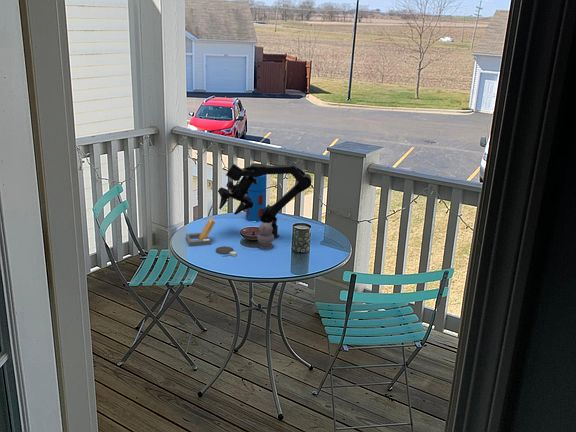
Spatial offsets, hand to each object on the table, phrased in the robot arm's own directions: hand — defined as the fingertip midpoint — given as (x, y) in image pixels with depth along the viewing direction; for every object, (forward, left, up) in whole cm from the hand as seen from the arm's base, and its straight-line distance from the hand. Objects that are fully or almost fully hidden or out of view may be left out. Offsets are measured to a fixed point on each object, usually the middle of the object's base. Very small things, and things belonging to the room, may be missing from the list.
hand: (227, 211), depth 275 cm
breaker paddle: (+3, +16, -11) cm, 20 cm away
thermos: (+4, -28, -12) cm, 30 cm away
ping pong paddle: (-16, +18, -12) cm, 27 cm away
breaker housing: (+3, +17, -12) cm, 21 cm away
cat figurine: (-24, 0, -12) cm, 27 cm away
